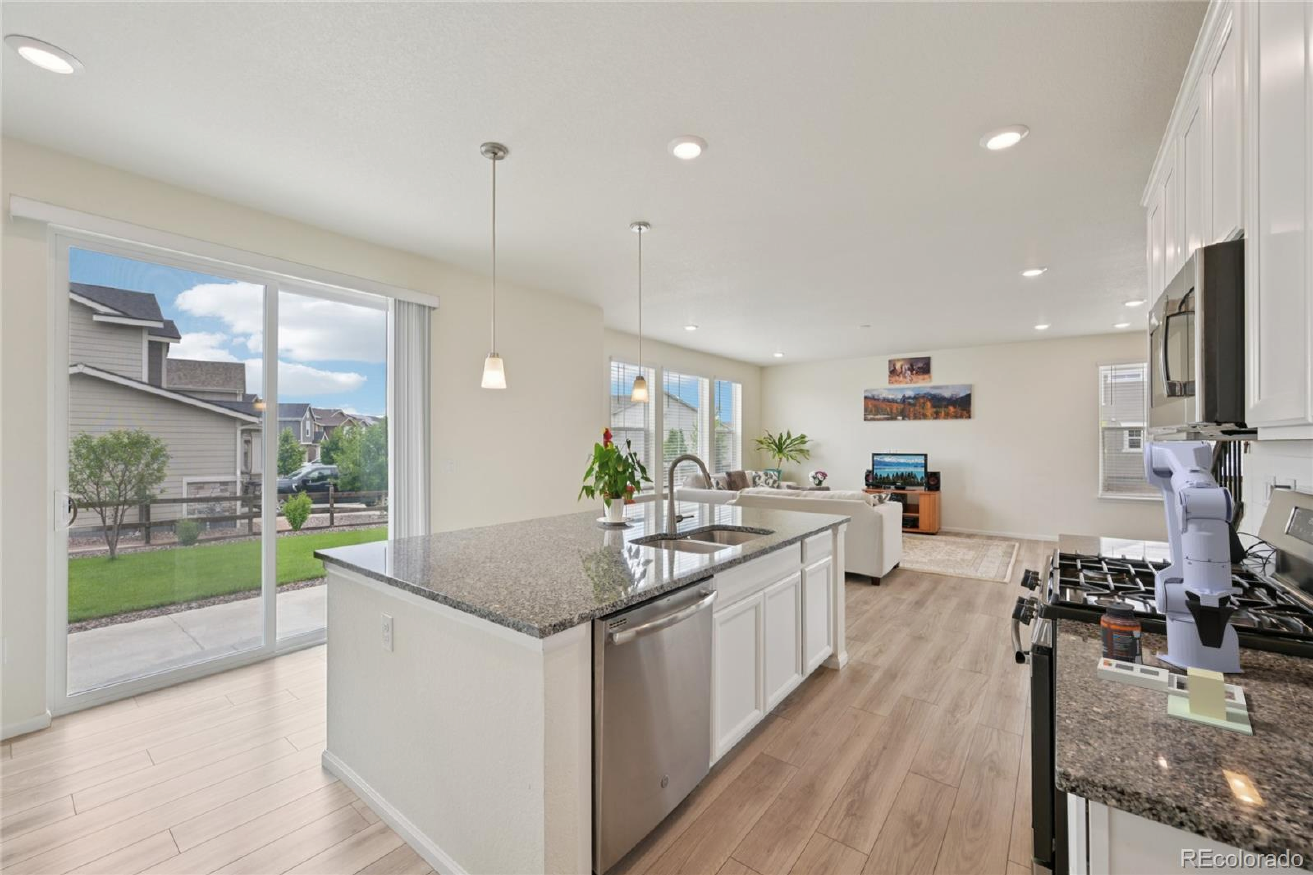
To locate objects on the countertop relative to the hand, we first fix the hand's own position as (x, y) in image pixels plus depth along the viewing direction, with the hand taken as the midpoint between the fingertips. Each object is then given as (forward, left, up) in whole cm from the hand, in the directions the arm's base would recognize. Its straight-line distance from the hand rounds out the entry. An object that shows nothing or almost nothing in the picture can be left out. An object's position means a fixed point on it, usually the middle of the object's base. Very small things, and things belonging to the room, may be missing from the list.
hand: (1210, 640), depth 91 cm
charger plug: (+6, +6, -9) cm, 13 cm away
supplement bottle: (+4, -14, -10) cm, 17 cm away
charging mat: (+6, +6, -9) cm, 13 cm away
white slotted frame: (+4, -5, -9) cm, 11 cm away
